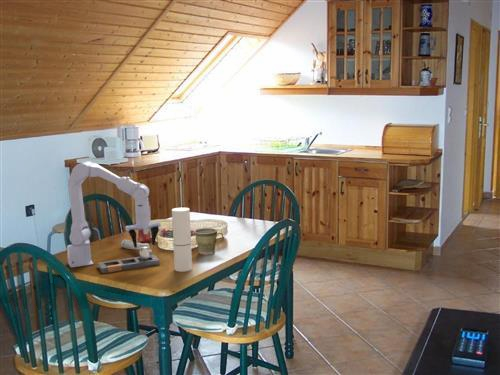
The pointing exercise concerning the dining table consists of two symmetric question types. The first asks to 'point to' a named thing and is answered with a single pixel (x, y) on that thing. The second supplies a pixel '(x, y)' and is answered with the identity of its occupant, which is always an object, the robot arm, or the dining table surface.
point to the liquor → (145, 232)
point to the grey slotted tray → (127, 264)
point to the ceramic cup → (206, 240)
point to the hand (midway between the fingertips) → (144, 245)
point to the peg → (144, 253)
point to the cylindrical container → (182, 239)
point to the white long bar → (129, 245)
